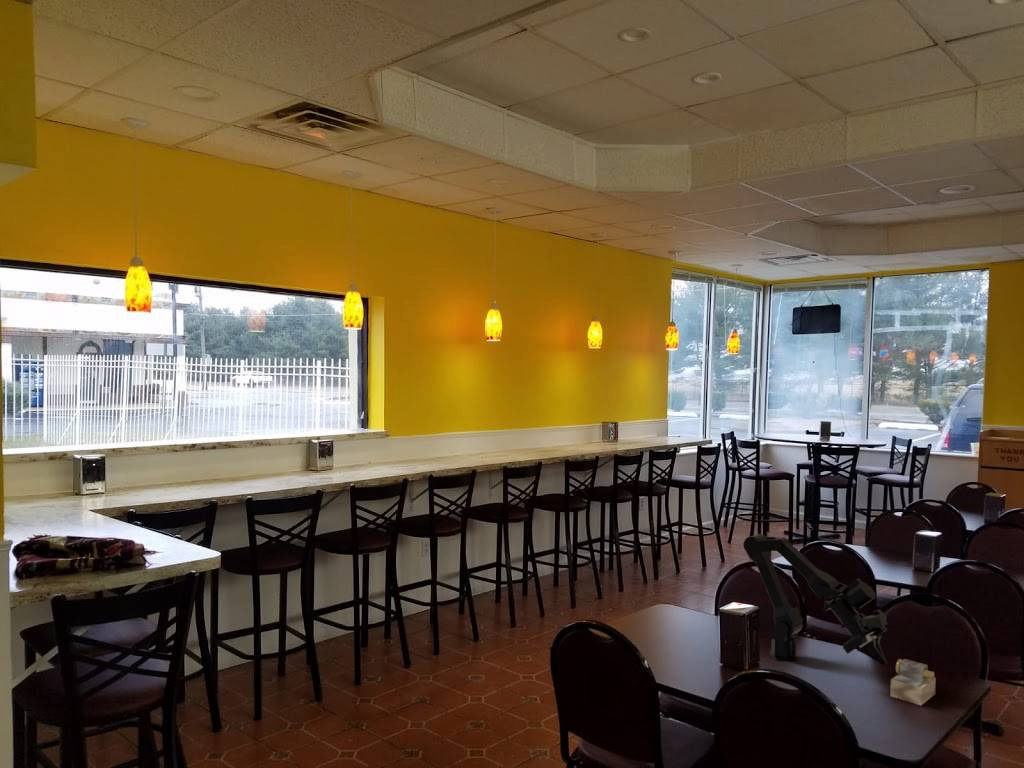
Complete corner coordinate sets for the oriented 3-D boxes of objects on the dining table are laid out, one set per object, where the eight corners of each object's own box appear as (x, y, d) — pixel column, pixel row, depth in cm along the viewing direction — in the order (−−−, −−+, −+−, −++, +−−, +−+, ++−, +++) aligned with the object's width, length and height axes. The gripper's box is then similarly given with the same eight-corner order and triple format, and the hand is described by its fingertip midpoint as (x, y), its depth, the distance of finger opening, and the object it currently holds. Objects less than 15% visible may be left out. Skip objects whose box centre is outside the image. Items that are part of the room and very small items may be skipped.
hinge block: (890, 696, 213) (891, 664, 213) (905, 685, 221) (905, 654, 221) (921, 705, 208) (922, 673, 207) (935, 694, 215) (936, 662, 215)
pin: (895, 675, 216) (895, 660, 216) (900, 671, 219) (901, 657, 218) (930, 685, 209) (930, 670, 209) (935, 681, 212) (935, 666, 212)
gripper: (855, 608, 217) (895, 659, 209) (881, 595, 229) (919, 642, 222) (827, 628, 222) (864, 678, 215) (853, 614, 235) (889, 661, 228)
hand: (885, 664), depth 220 cm, fingers closed
